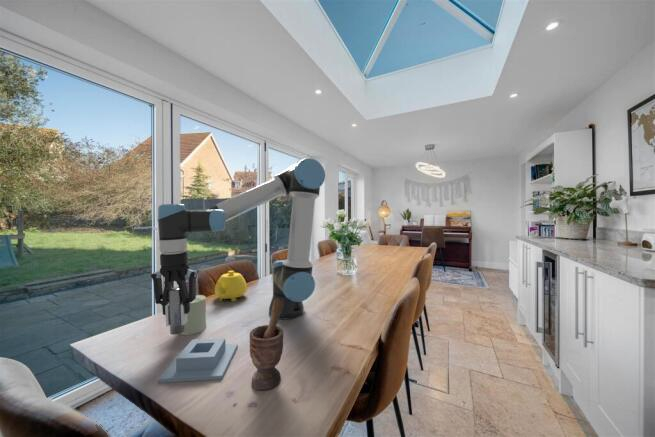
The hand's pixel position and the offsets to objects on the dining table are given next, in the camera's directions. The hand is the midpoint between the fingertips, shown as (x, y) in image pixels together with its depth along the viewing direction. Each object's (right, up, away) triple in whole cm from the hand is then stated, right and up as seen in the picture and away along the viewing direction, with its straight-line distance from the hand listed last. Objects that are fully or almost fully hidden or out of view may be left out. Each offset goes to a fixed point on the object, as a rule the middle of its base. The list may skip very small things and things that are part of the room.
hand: (177, 323), depth 82 cm
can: (-2, -8, +13) cm, 15 cm away
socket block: (+12, -8, -8) cm, 17 cm away
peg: (0, -3, 0) cm, 3 cm away
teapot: (-1, -7, +45) cm, 46 cm away
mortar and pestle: (+33, -9, -14) cm, 37 cm away
